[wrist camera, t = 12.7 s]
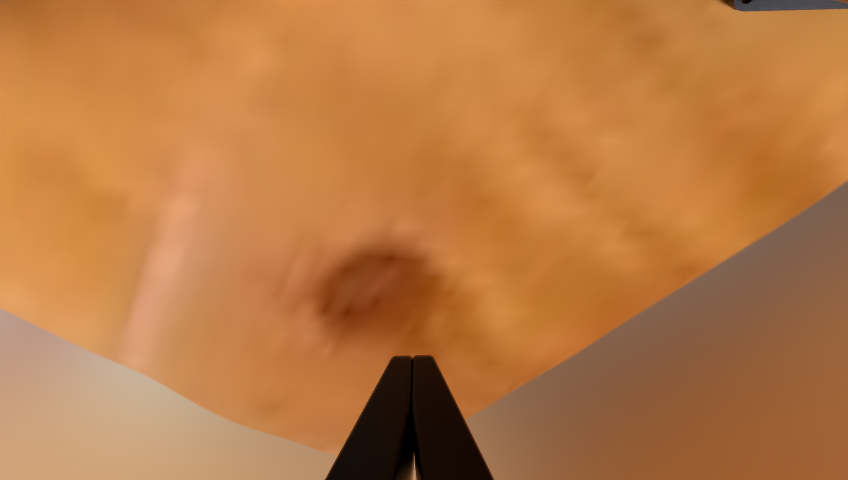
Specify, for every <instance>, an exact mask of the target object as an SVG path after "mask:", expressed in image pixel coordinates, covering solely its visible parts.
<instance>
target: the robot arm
mask: <svg viewBox="0 0 848 480" xmlns="http://www.w3.org/2000/svg"><path fill="white" fill-rule="evenodd" d="M728 4H729V6H730V7H731V8H732V9H735V10H739V11H774V10H813V9H848V0H744V1H743V2H741V0H728ZM414 456H415V470H416V480H494V478H493V476H492V474H491V472H490V470H489V468H488V466H487V464H486V462H485V460H484V458H483V457H482V454H481V452H480V450H479V448H478V446H477V444H476V442H475V440H474V438H473V436H472V434H471V432H470V430H469V428H468V426H467V424H466V422H465V420H464V418H463V416H462V414H461V412H460V409H459V407H458V405H457V403H456V401H455V399H454V397H453V395H452V393H451V391H450V389H449V387H448V385H447V383H446V381H445V379H444V377H443V375H442V373H441V371H440V369H439V367H438V365H437V363H436V361H435V359H434V357H433V356H431V355H416V356H414V357H413V359H412V357H411V356H394V357H392V359H391V360H390V362H389V364H388V365H387V367H386V369H385V371H384V373H383V374H382V376H381V378H380V380H379V382H378V384H377V385H376V387H375V389H374V391H373V393H372V395H371V396H370V398H369V400H368V402H367V404H366V406H365V407H364V409H363V411H362V413H361V415H360V417H359V418H358V420H357V422H356V424H355V426H354V428H353V429H352V431H351V433H350V435H349V437H348V439H347V440H346V442H345V444H344V446H343V448H342V450H341V451H340V453H339V455H338V457H337V459H336V460H335V462H334V464H333V466H332V468H331V470H330V471H329V473H328V475H327V477H326V479H325V480H412V478H413V468H414Z"/></svg>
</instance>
